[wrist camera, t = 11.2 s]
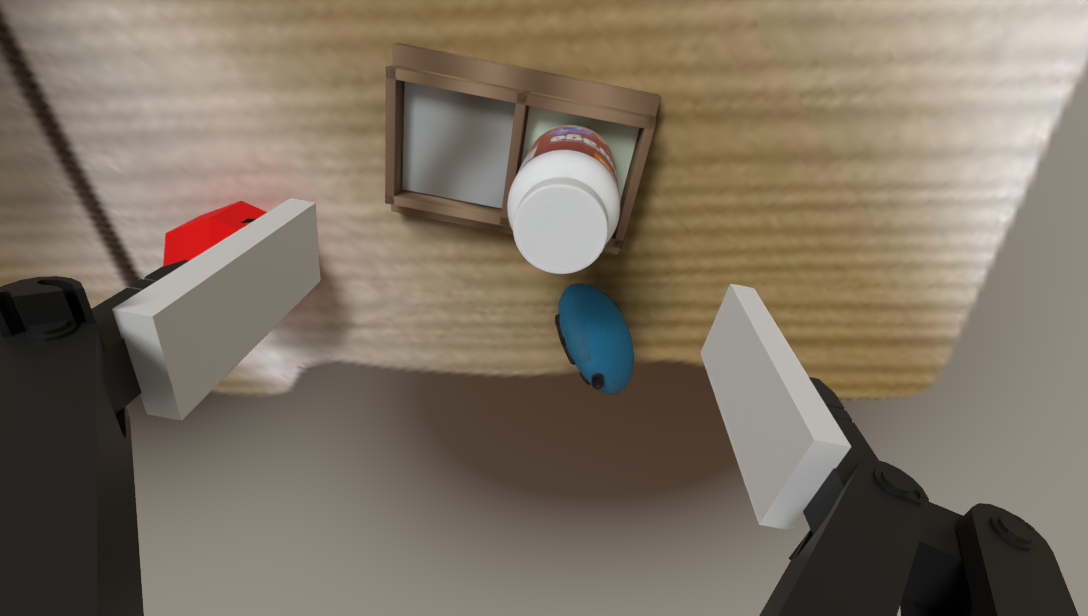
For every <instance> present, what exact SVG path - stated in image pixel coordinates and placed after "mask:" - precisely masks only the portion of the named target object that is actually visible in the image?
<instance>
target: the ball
mask: <svg viewBox="0 0 1088 616" xmlns="http://www.w3.org/2000/svg"><path fill="white" fill-rule="evenodd" d="M266 213H267V212H265V211H263V210H261V209H258V208H256V207H254V206H252V205H250V204H247V203H245V202H243V201H240V202H237V203H234V204H232V205H229V206H226V207H223V208H221V209H218V210H215V211H212V212H210V213H207V214H204V215H201V216H199V217H197V218H195V219H193V220H191V221H189V222H187V223H185V224H183V225H181V226H179V227H177V228H175V229H173V230H171V231H169V232H167V233H166V238H165V251H164V264H163V267H164V266H167V265H170V264H173V263H176V262H179V261H182V260H188V261H190V260H192V259H193V258H195V257H197V256H198V255H200V254H201V253H203V252H205V251H206V250H208V249H209V248H211V247H213V246H214V245H216V244H217V243H219V242H221V241H222V240H224V239H225V238H227V237H229V236H230V235H232V234H233V233H235V232H237V231H238V230H240V229H242V228H243V227H245V226H246V225H248V224H250V223H251V222H253V221H254V220H256V219H258V218H259V217H261V216H262V215H264V214H266Z"/></svg>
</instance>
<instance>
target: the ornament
mask: <svg viewBox="0 0 1088 616" xmlns="http://www.w3.org/2000/svg"><path fill="white" fill-rule="evenodd" d="M555 323H556V327H557V330H558V334H559V337H560V341H561V344H562V346H563V348H564V350H565V353H566V355H567V357H568V359H569V361H570V363H571V364H573V365H574V364H576V366H577V367H578V369H579V370H580V375H581V377H582V379H583V380H584V381H585V382H586V383H587V384H589V385H590V384H592V386H593V387H594V388H595V389H598V390H599V391H602V392H604V393H607V394H617V393H619V392H621V391H622V390H624V388H625V387H626V385H627V384H628V382H629V380H630V378H631V374H632V368H633V362H634V352H633V344H632V338H631V335H630V332H629V328H628V326H627V324H626V321H625V319H624V318H623V316H622V314H621V313H620V311H619V310H618V308H617V307H616V305H615V304H614V303H613V302H612V300H611V299H610V298H609V297H607V296H606V295H605V294H604V293H603V292H601V291H600V290H598V289H597V288H595V287H593V286H592V285H588V284H578V283H577V284H573V285H570V286H569V287H567V288H566V289H565V291H564V293H563V294H562V297H561V299H560V302H559V310H558V314H557V315H556V316H555Z"/></svg>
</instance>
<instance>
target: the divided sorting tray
mask: <svg viewBox="0 0 1088 616" xmlns="http://www.w3.org/2000/svg"><path fill="white" fill-rule="evenodd" d="M660 99H661V97H660V96H659V95H658V94H652V93H647V92H642V91H637V90H632V89H627V88H622V87H617V86H612V85H607V84H602V83H597V82H592V81H587V80H582V79H577V78H572V77H567V76H562V75H557V74H552V73H547V72H542V71H537V70H532V69H527V68H522V67H517V66H511V65H506V64H501V63H496V62H491V61H486V60H481V59H476V58H471V57H466V56H461V55H456V54H451V53H446V52H441V51H436V50H431V49H426V48H421V47H416V46H411V45H406V44H401V43H398V44H393V65H391V66H387V67H386V182H385V203H387V204H391V211H393V212H398V213H403V214H408V215H414V216H419V217H424V218H429V219H434V220H440V221H445V222H450V223H455V224H460V225H466V226H471V227H476V228H481V229H486V230H491V231H497V232H502V233H507V234H512V235H514V234H513V230H512V228H511V225H510V222H509V218H508V211H507V203H508V196H509V192H510V188H511V186H512V183H513V181H514V179H515V177H516V175H517V173H518V171H519V169H520V167H521V165H522V163H523V161H524V159H525V157H526V155H527V153H528V151H529V149H530V148H531V146H532V145H533V143H534V142H535V141H536V140H537V139H538V138H539V137H540V136H541V135H542V134H543V133H545V132H547V131H548V130H550V129H552V128H555V127H558V126H563V125H577V126H582V127H585V128H588V129H590V130H592V131H594V132H595V133H597V134H598V135H599V136H601V137H602V138H603V139H604V141H605V142H606V143H607V144H608V146H609V147H610V149H611V151H612V154H613V156H614V160H615V164H616V173H617V182H618V189H619V196H620V215H619V220H618V224H617V227H616V229H615V231H614V233H613V235H612V237H611V238H610V240H609V241H608V242H607V243H606V244H605V247H604V249H603V251H602V252H606V253H611V254H616V255H618V252H619V249H622V245H623V241H624V238H625V234H626V231H627V227H628V223H629V220H630V216H631V212H632V209H633V205H634V202H635V198H636V194H637V191H638V187H639V184H640V180H641V176H642V173H643V169H644V165H645V162H646V158H647V155H648V151H649V147H650V144H651V140H652V136H653V133H654V129H655V126H656V122H657V120H656V118H655V117H656V114H657V110H658V107H659V103H660Z"/></svg>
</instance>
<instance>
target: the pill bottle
mask: <svg viewBox="0 0 1088 616" xmlns="http://www.w3.org/2000/svg"><path fill="white" fill-rule="evenodd" d="M507 211H508V218H509V222H510V225H511V228H512V230H513V234H514V239H515V242H516V245H517V247H518V249H519V251H520V252H521V254H522V255H523V256H524V258H525V259H526V260H527V261H528V262H529V263H531V264H532V265H533V266H535V267H537V268H539V269H541V270H543V271H546V272H550V273H555V274H568V273H573V272H577V271H579V270H582V269H584V268H586V267H587V266H589V265H590V264H592V263H593V262H594V261H595V260H596V259H597V258H598V257H599V255H600V254H601V252H602V251H603V249H604V247H605V244H606V243H607V242H608V241H609V240H610V238H611V237H612V235H613V233H614V231H615V229H616V227H617V224H618V220H619V215H620V196H619V189H618V182H617V173H616V164H615V160H614V156H613V154H612V151H611V149H610V147H609V146H608V144H607V143H606V142H605V141H604V139H603V138H602V137H601V136H599V135H598V134H597V133H595V132H594V131H592V130H590V129H588V128H585V127H582V126H577V125H563V126H558V127H555V128H552V129H550V130H548V131H547V132H545V133H543V134H542V135H541V136H540V137H539V138H538V139H537V140H536V141H535V142H534V143H533V145H532V146H531V148H530V149H529V151H528V153H527V155H526V157H525V159H524V161H523V163H522V165H521V167H520V169H519V171H518V173H517V175H516V177H515V179H514V181H513V183H512V186H511V188H510V192H509V196H508V203H507Z"/></svg>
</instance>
